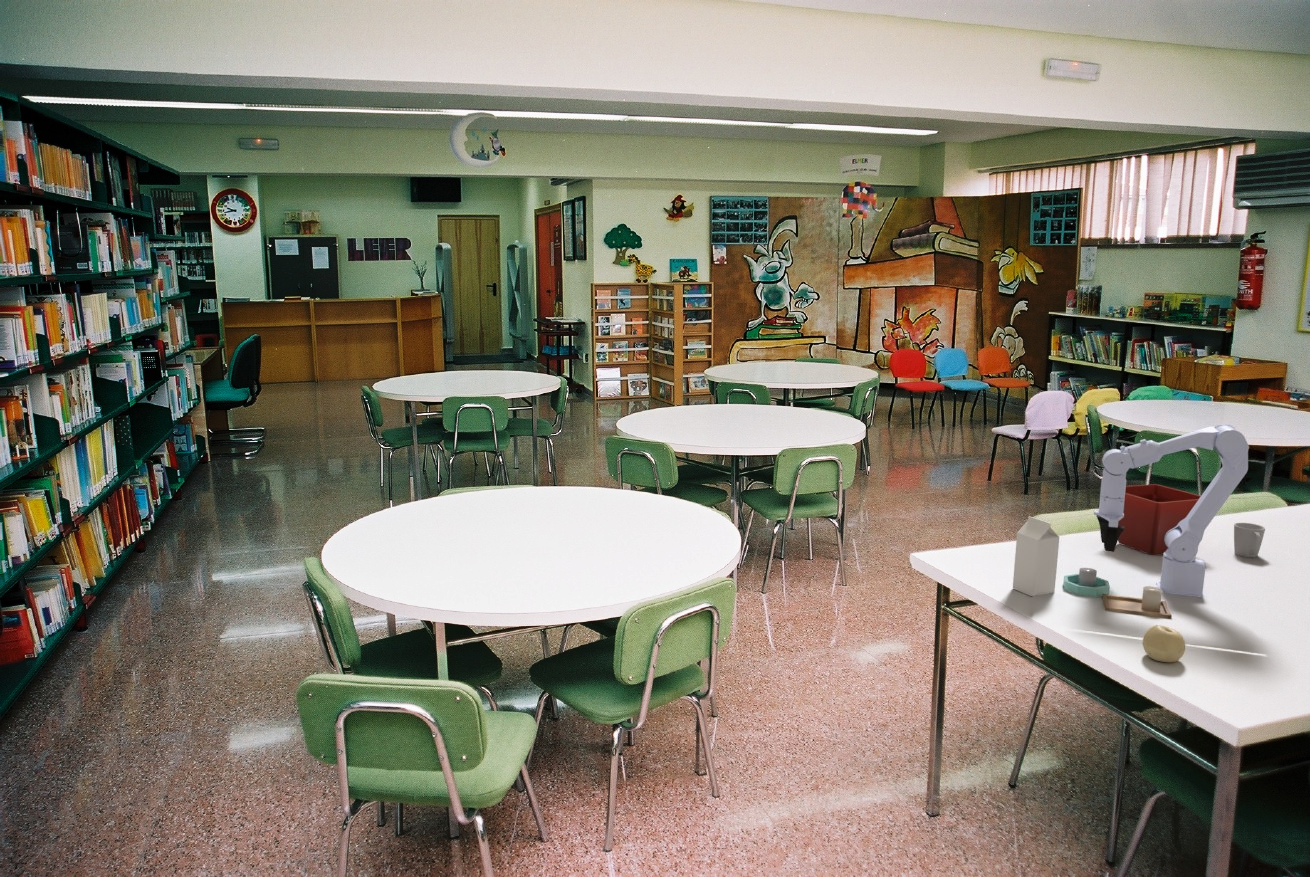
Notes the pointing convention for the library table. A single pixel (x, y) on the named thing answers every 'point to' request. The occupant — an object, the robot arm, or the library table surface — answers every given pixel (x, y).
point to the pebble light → (1151, 599)
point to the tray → (1132, 606)
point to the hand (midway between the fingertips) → (1107, 546)
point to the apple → (1163, 644)
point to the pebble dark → (1087, 577)
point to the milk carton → (1036, 558)
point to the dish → (1098, 590)
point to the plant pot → (1152, 516)
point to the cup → (1248, 539)
